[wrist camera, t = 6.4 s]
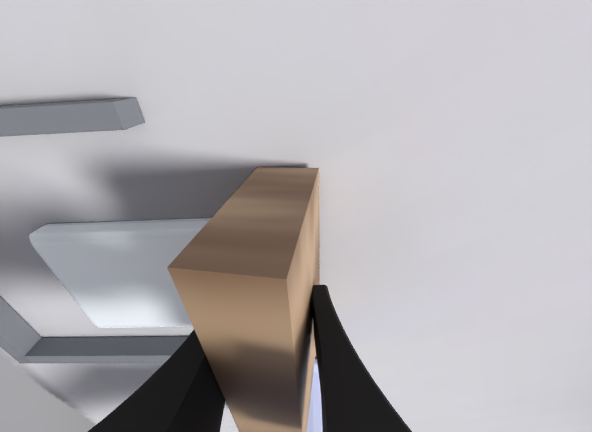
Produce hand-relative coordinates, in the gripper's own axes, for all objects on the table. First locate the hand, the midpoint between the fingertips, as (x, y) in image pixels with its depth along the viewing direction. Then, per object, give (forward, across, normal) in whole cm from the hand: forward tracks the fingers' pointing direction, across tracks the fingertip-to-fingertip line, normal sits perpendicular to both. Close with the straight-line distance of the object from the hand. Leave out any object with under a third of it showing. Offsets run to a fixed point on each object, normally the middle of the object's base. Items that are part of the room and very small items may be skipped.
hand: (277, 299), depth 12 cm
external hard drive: (+4, +7, +1) cm, 8 cm away
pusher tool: (+3, -1, 0) cm, 3 cm away
